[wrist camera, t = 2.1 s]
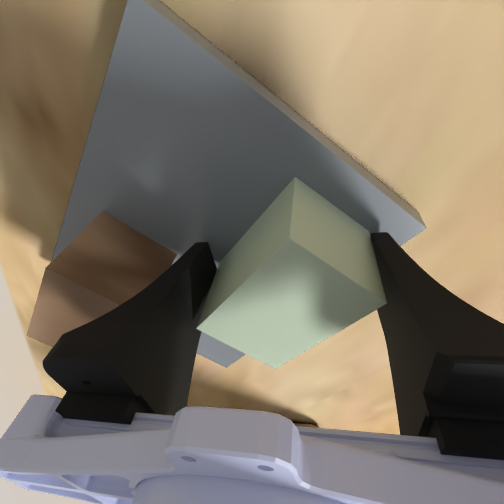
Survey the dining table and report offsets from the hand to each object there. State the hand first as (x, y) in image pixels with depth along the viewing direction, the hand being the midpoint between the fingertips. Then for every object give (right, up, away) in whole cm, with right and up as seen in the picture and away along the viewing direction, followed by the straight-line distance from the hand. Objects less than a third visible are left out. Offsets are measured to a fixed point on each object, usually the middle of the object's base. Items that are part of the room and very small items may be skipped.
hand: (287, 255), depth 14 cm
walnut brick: (-9, -1, +3) cm, 9 cm away
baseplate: (-4, +1, +2) cm, 5 cm away
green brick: (0, 0, 0) cm, 0 cm away
